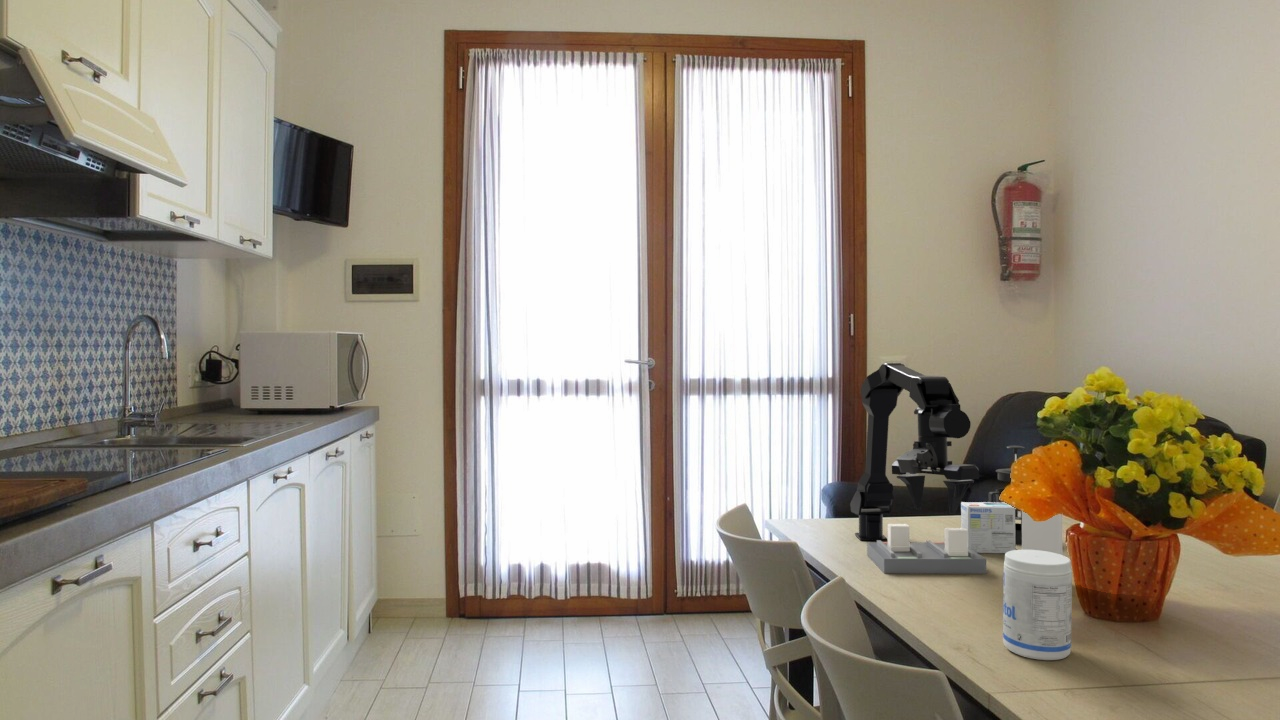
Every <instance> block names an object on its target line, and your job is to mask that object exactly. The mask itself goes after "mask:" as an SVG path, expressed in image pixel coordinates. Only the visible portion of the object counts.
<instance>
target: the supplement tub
mask: <svg viewBox="0 0 1280 720" xmlns="http://www.w3.org/2000/svg"><path fill="white" fill-rule="evenodd" d="M1002 587H1003V589H1002V590H1003V591H1002V592H1003V593H1002V594H1003V595H1002V596H1003V597H1002V601H1003V602H1002V608H1003V609H1002V643H1003V645H1004V647H1005V648H1006V649H1007V650H1008V651H1010V652H1012V653H1013V654H1016V655H1018V656H1021V657H1024V658H1027V659H1032V660H1038V661H1058V660H1062V659H1065V658H1067V657H1068V656H1069V655H1070V654H1071V653H1072V652H1071V651H1072V613H1073V612H1072V611H1073V610H1072V607H1073V606H1072V605H1073V604H1072V602H1073V594H1072V593H1073V591H1072V590H1073V588H1072V587H1073V568H1072V560H1071V559H1070V558H1069V557H1067V556H1065V555H1063V554H1062V555H1061V554H1057V553H1053V552H1048V551H1040V550H1022V549H1015V550H1012V551H1008V552H1007V553H1004V561H1003V586H1002Z"/></svg>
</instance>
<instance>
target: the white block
mask: <svg viewBox="0 0 1280 720" xmlns="http://www.w3.org/2000/svg"><path fill="white" fill-rule="evenodd" d="M887 542H888V544H887V547H888V548H889V549H891V550H892V551H893V552H910V547H909V542H910V525H908V524H907V523H887Z"/></svg>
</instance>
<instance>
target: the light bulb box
mask: <svg viewBox="0 0 1280 720" xmlns="http://www.w3.org/2000/svg"><path fill="white" fill-rule="evenodd" d="M1011 505H1012V504H1011ZM1011 505H1009V504H1007V503H1005V502H1004V501H1003V502H1001V501H1000V503H999V502H995V501H993V502H989V501H987V502H986V501H983V502H982V501H981V502H980V501H979V502H976V501H975V502H973V501H972V502H971V501H970V502H969V501H968V502H967V501H966V502H965V501H961V502H960V515H961V516H960V518H961V519H960V524H961V525H960V528H965V529H966V530H968V547H969V548H970V549H972V550H973V551H975V552H976V553H978V554H1006V553H1007V552H1008V551H1012V550H1016V544H1015V523H1016V519H1015V508H1014V507H1015V506H1014V507H1012V506H1013V505H1012V506H1011Z"/></svg>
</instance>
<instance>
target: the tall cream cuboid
mask: <svg viewBox="0 0 1280 720" xmlns="http://www.w3.org/2000/svg"><path fill="white" fill-rule="evenodd" d="M944 542H945V548H944V551H945V552H946V553H948V556H968V530H966V529H965V528H961V527H944Z"/></svg>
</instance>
